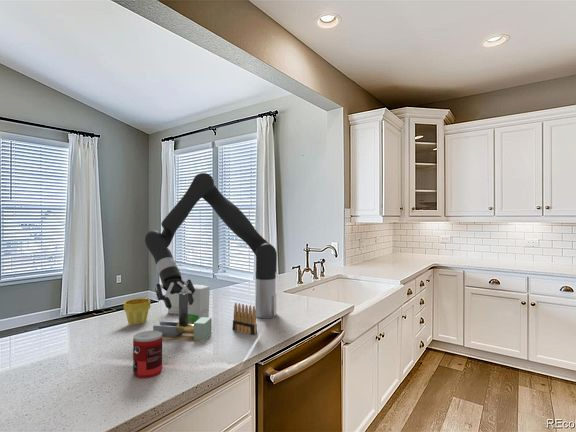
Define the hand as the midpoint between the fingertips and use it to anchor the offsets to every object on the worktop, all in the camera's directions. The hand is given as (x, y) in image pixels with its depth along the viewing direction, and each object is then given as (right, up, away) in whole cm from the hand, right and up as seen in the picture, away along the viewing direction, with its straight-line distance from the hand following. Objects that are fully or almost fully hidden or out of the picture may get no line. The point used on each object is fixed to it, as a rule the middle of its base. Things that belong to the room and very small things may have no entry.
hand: (181, 305), depth 127 cm
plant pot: (-23, -12, +15) cm, 30 cm away
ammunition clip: (+23, -12, +3) cm, 27 cm away
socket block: (+9, -11, -2) cm, 14 cm away
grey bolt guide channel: (-5, -11, -1) cm, 12 cm away
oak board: (+1, -12, -1) cm, 12 cm away
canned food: (-1, -12, -28) cm, 31 cm away
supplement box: (-12, -12, +34) cm, 38 cm away
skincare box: (+1, -12, +18) cm, 22 cm away
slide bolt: (+5, -11, -2) cm, 12 cm away
